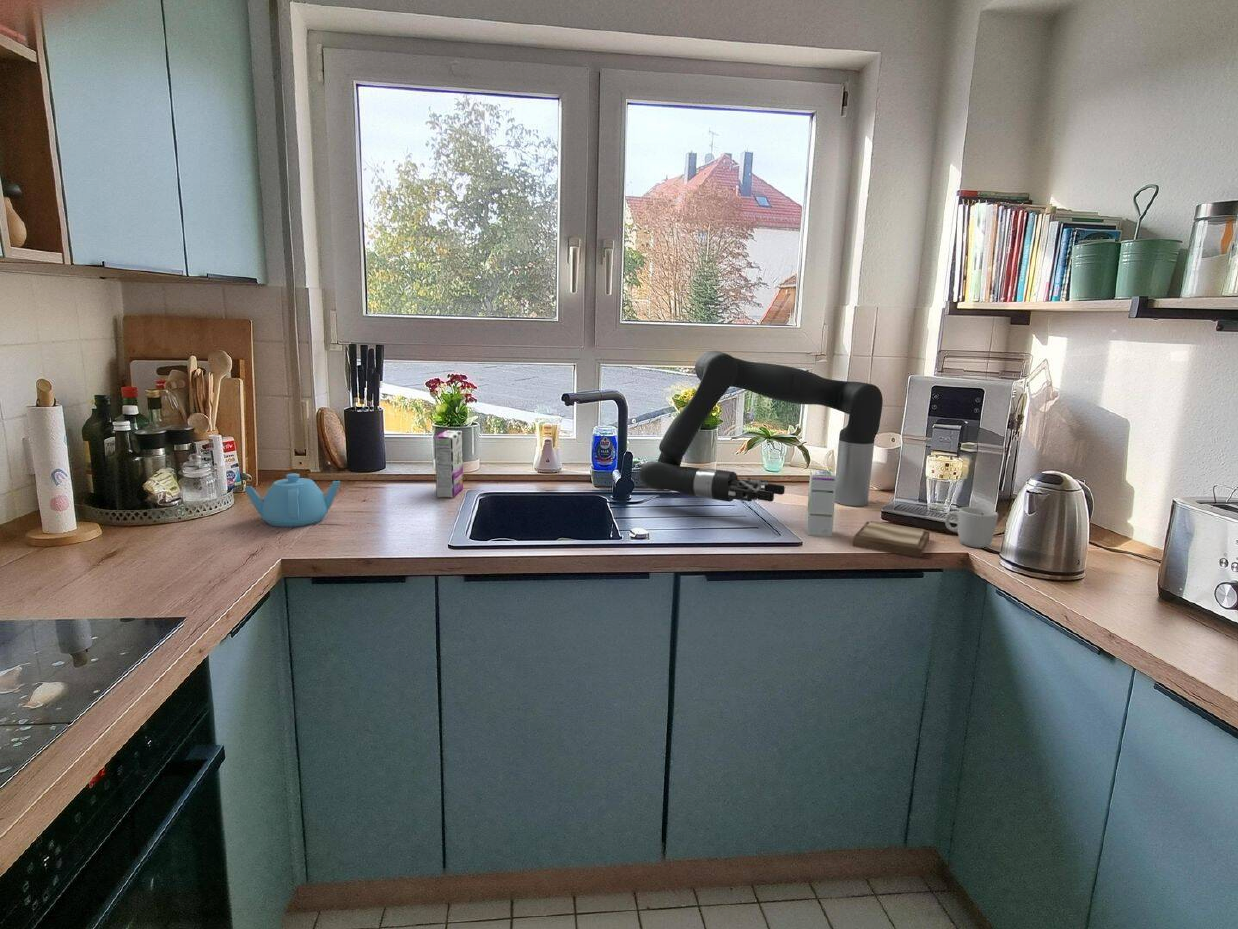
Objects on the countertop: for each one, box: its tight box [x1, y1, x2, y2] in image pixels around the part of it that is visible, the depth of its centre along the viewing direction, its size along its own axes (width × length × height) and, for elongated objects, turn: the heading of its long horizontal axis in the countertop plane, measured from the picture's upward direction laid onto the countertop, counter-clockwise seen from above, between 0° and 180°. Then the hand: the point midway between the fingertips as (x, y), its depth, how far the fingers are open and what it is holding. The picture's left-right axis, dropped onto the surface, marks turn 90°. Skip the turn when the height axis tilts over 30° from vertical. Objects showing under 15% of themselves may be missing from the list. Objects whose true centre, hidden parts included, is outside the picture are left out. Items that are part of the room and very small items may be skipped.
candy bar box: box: [434, 429, 464, 499], centre depth 191 cm, size 11×5×16 cm, turn 179°
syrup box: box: [805, 469, 836, 538], centre depth 165 cm, size 6×6×14 cm
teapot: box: [243, 472, 341, 528], centre depth 161 cm, size 15×15×11 cm
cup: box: [944, 506, 999, 549], centre depth 161 cm, size 11×8×8 cm
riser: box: [852, 520, 931, 559], centre depth 160 cm, size 16×14×2 cm
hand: (778, 493), depth 170 cm, fingers open, 8 cm apart
